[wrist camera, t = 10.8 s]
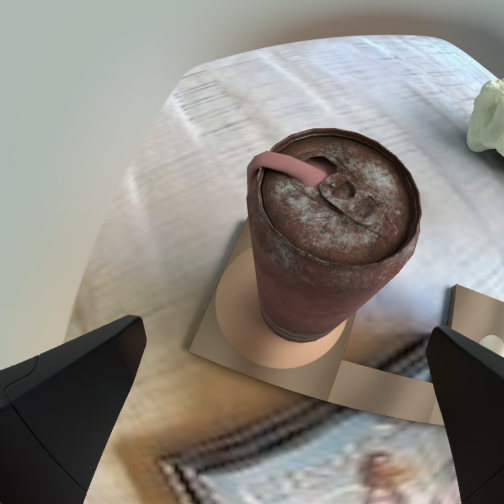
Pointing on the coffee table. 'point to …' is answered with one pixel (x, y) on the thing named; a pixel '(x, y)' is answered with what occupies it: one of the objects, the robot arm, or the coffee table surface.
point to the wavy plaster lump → (487, 119)
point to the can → (327, 228)
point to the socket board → (326, 346)
